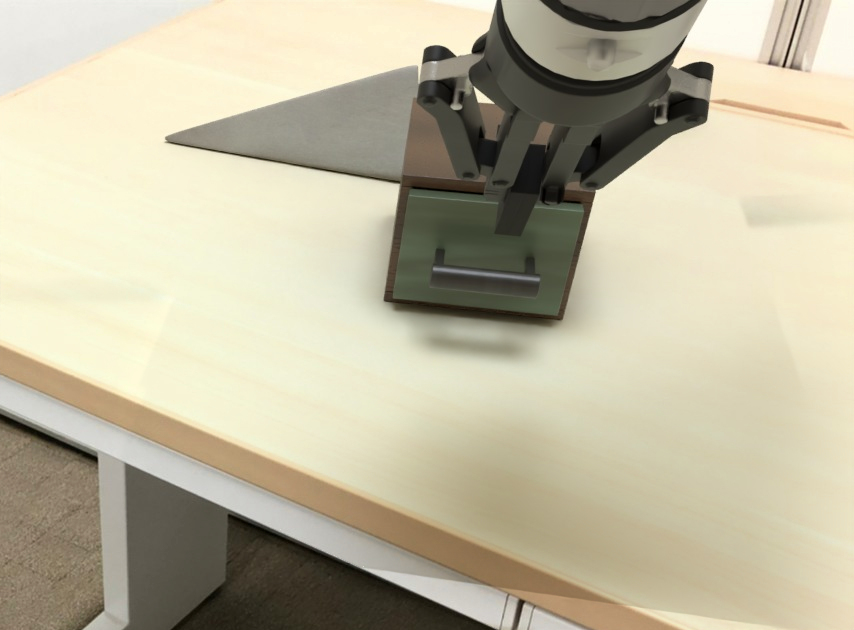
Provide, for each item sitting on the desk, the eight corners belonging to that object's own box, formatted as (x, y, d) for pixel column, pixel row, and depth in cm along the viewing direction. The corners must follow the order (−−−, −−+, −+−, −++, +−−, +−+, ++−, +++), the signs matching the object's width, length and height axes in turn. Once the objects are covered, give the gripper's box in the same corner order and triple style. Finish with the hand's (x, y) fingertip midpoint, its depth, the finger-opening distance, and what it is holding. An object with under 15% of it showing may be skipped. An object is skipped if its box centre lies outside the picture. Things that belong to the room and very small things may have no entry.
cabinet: (562, 320, 88) (596, 191, 82) (383, 301, 90) (402, 174, 84) (555, 229, 99) (584, 110, 93) (395, 214, 101) (413, 97, 95)
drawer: (559, 347, 84) (587, 240, 79) (388, 328, 86) (405, 223, 81) (551, 231, 97) (574, 133, 92) (402, 217, 99) (417, 120, 94)
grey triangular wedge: (152, 178, 106) (423, 144, 100) (153, 99, 108) (418, 61, 103) (175, 242, 115) (424, 213, 110) (175, 168, 117) (419, 136, 112)
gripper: (415, 77, 50) (387, 264, 73) (763, 101, 47) (619, 287, 70) (441, -102, 50) (405, 141, 73) (787, -87, 48) (636, 159, 71)
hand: (510, 212), depth 72 cm, fingers closed
